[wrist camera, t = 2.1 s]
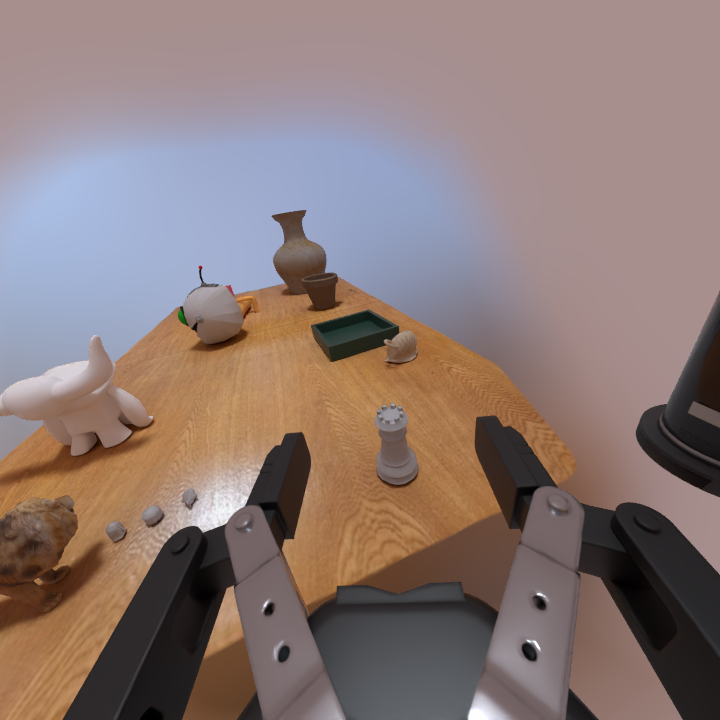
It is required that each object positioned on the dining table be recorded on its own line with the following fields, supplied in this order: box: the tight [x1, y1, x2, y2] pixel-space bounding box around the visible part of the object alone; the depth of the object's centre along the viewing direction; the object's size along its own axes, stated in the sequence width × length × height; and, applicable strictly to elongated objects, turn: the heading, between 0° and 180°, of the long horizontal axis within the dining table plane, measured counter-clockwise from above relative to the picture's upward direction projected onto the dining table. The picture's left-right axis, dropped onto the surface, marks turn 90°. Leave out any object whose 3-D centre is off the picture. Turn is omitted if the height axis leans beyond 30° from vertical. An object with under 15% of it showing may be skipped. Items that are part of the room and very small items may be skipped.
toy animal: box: [0, 335, 153, 456], centre depth 39 cm, size 20×12×17 cm, turn 104°
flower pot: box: [301, 273, 338, 310], centre depth 89 cm, size 12×11×10 cm
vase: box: [272, 210, 326, 294], centre depth 113 cm, size 22×22×30 cm
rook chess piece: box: [374, 404, 418, 485], centre depth 28 cm, size 4×4×8 cm
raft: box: [225, 285, 260, 316], centre depth 96 cm, size 23×30×9 cm
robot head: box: [178, 266, 244, 344], centre depth 72 cm, size 16×14×20 cm
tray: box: [311, 310, 399, 362], centre depth 63 cm, size 16×16×3 cm
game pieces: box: [106, 488, 196, 542], centre depth 29 cm, size 8×2×2 cm, turn 116°
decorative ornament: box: [384, 330, 418, 363], centre depth 50 cm, size 4×8×5 cm, turn 128°
